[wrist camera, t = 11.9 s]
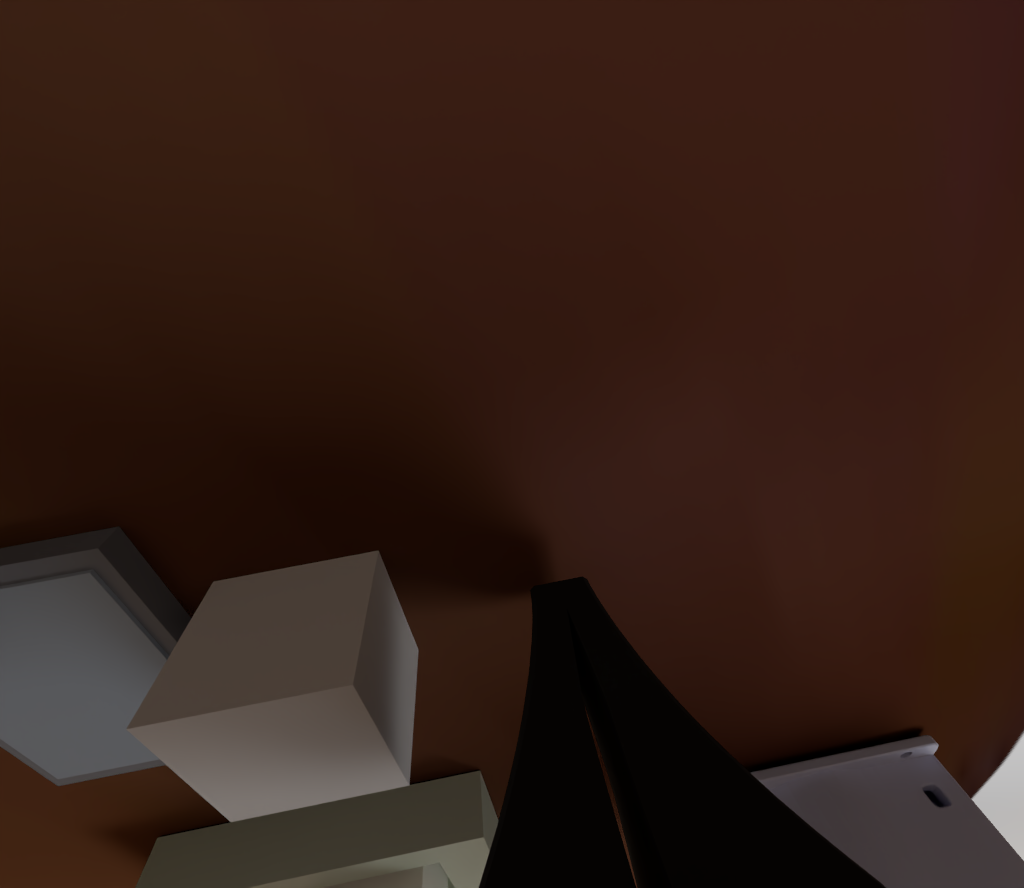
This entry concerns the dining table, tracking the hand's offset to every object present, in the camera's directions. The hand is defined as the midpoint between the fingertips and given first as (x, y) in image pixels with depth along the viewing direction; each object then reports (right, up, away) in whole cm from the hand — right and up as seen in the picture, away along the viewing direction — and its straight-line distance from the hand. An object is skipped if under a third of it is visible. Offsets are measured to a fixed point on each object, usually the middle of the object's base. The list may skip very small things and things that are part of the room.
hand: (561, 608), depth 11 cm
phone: (-12, -1, +1) cm, 12 cm away
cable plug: (-6, 0, +1) cm, 6 cm away
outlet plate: (-8, -13, +8) cm, 17 cm away
